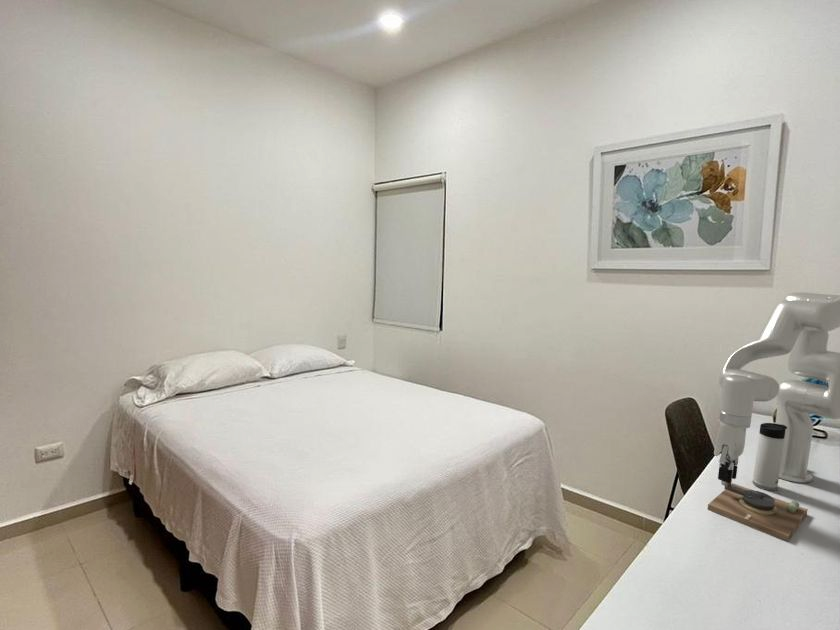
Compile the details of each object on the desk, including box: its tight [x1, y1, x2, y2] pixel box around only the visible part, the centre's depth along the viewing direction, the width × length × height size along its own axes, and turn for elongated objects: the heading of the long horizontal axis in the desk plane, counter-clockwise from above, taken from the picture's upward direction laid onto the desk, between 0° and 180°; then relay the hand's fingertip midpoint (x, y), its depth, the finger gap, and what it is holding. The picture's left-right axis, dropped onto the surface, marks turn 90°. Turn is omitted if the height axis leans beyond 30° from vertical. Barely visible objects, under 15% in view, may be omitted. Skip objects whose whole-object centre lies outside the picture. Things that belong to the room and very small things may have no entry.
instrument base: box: [707, 482, 808, 543], centre depth 127 cm, size 20×18×3 cm
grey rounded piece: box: [720, 460, 775, 510], centre depth 128 cm, size 7×13×9 cm, turn 39°
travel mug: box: [752, 422, 787, 492], centre depth 140 cm, size 6×7×20 cm
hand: (726, 478), depth 132 cm, fingers open, 3 cm apart
